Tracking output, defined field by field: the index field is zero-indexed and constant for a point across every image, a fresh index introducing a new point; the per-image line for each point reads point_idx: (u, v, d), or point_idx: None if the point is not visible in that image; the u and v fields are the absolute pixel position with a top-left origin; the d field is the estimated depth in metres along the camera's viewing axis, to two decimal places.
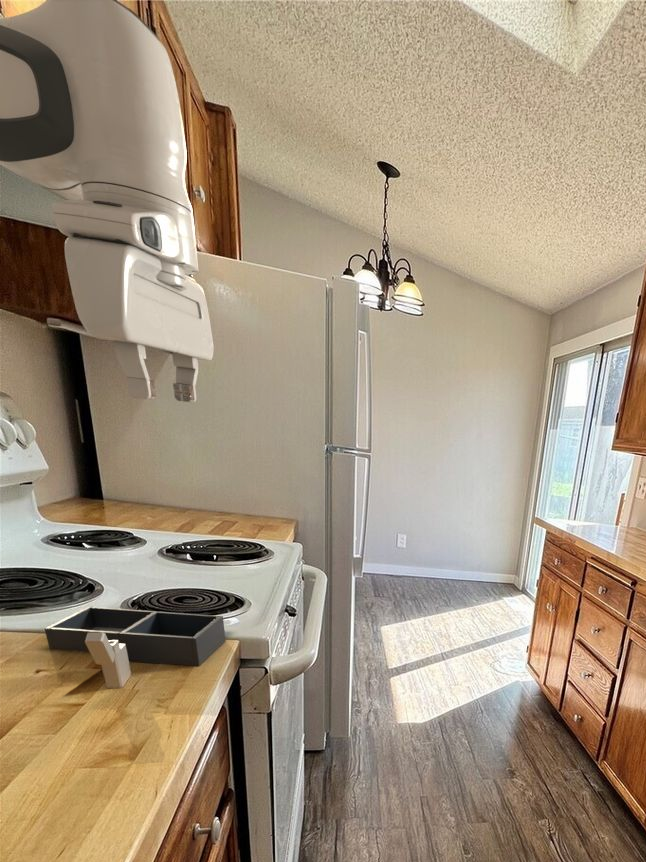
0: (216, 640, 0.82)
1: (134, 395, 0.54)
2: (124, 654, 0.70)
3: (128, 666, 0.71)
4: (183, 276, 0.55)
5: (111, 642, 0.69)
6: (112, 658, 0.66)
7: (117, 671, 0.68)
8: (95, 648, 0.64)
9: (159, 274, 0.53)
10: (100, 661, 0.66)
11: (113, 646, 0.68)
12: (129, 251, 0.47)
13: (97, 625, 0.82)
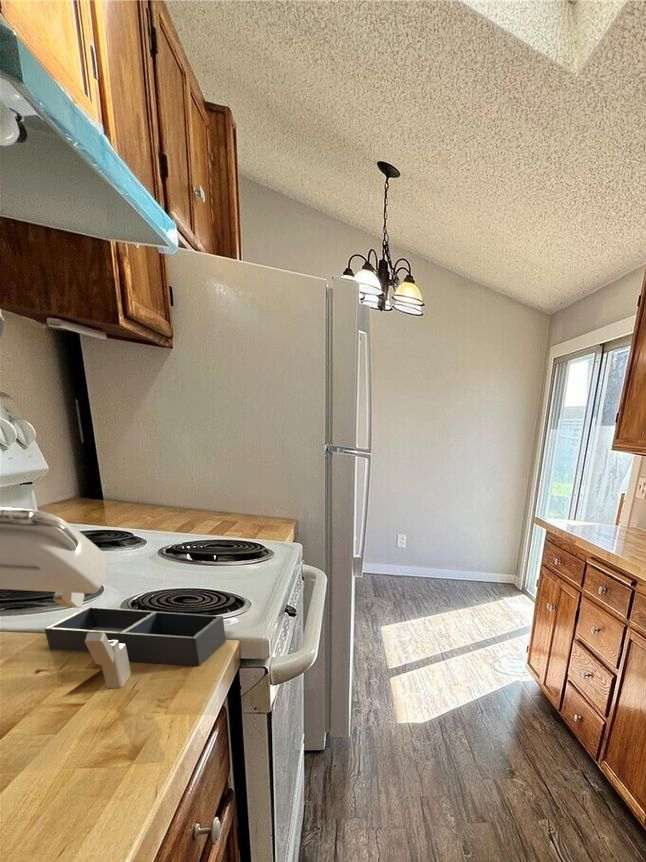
0: (216, 640, 0.82)
1: None
2: (124, 654, 0.70)
3: (128, 666, 0.71)
4: None
5: (111, 642, 0.69)
6: (112, 658, 0.66)
7: (117, 671, 0.68)
8: (95, 648, 0.64)
9: None
10: (100, 661, 0.66)
11: (113, 646, 0.68)
12: None
13: (97, 625, 0.82)
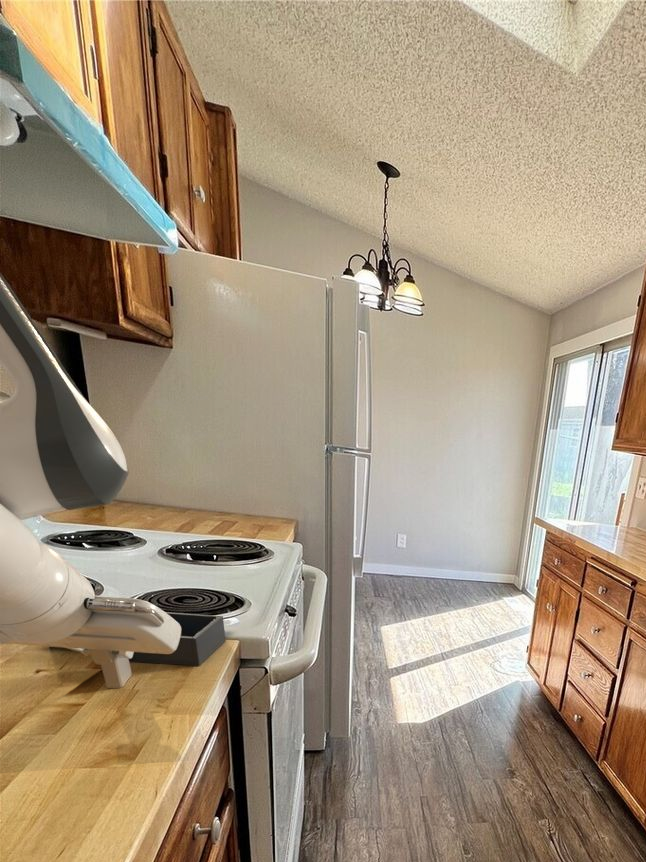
0: (216, 640, 0.82)
1: None
2: None
3: (128, 666, 0.71)
4: None
5: None
6: (111, 658, 0.66)
7: (116, 670, 0.68)
8: None
9: None
10: (99, 661, 0.66)
11: None
12: None
13: None
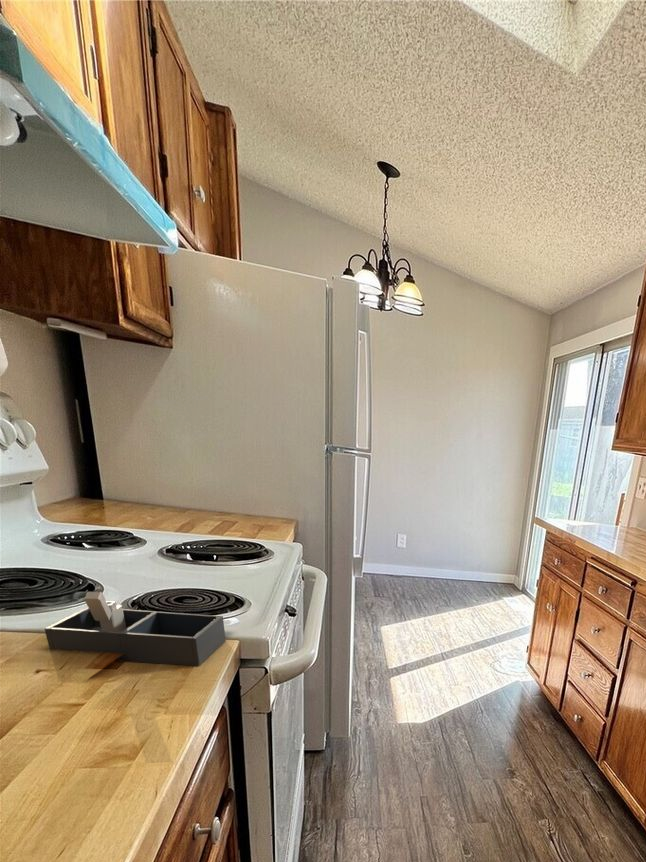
0: (216, 640, 0.82)
1: None
2: (121, 614, 0.80)
3: (124, 625, 0.81)
4: None
5: (109, 603, 0.78)
6: (108, 615, 0.76)
7: (113, 627, 0.78)
8: (93, 605, 0.74)
9: None
10: (98, 618, 0.75)
11: (110, 606, 0.78)
12: None
13: (97, 625, 0.82)
